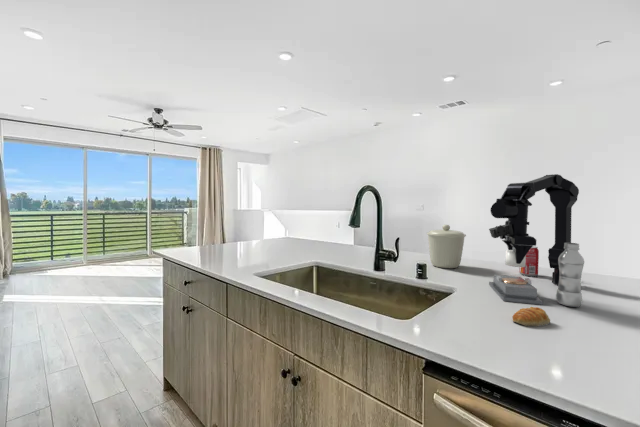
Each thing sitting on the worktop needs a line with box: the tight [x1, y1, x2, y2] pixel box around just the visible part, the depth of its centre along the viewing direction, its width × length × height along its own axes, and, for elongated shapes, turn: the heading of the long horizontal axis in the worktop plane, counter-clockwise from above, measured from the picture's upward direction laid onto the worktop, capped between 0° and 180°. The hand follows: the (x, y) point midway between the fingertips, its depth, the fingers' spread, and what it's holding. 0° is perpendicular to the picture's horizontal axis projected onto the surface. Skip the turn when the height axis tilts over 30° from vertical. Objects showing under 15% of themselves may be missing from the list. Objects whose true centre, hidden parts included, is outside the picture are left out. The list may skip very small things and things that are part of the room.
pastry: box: [511, 306, 551, 327], centre depth 82 cm, size 9×7×4 cm
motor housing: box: [488, 274, 543, 306], centre depth 106 cm, size 11×20×6 cm, turn 162°
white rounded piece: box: [505, 247, 526, 268], centre depth 106 cm, size 6×6×6 cm
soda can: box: [518, 245, 540, 278], centre depth 133 cm, size 7×7×13 cm
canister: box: [426, 224, 467, 269], centre depth 149 cm, size 18×18×21 cm
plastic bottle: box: [555, 242, 585, 308], centre depth 94 cm, size 6×7×20 cm
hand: (515, 262), depth 106 cm, fingers closed on white rounded piece, 6 cm apart
